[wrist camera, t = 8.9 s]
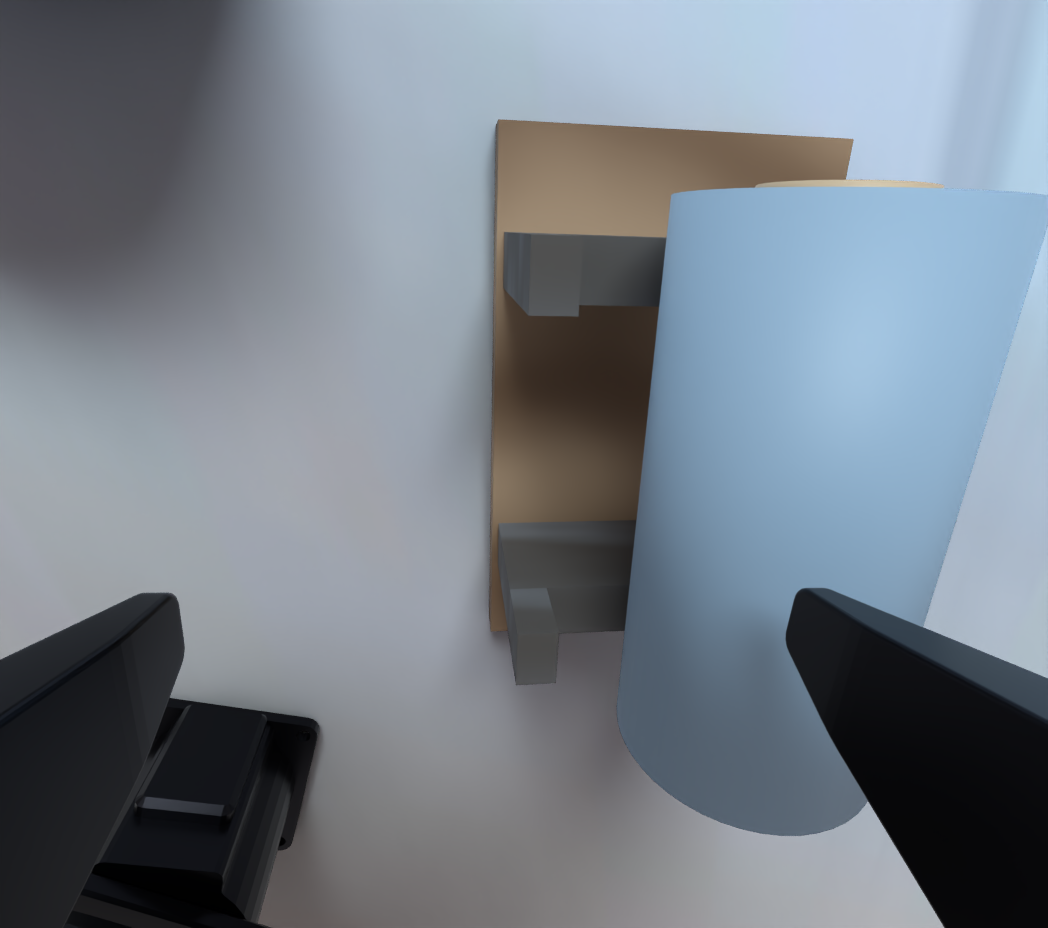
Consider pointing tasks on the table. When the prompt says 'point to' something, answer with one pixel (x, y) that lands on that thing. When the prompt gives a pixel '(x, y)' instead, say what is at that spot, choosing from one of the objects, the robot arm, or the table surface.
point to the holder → (589, 353)
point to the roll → (803, 460)
